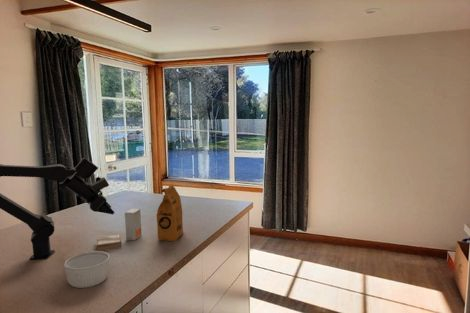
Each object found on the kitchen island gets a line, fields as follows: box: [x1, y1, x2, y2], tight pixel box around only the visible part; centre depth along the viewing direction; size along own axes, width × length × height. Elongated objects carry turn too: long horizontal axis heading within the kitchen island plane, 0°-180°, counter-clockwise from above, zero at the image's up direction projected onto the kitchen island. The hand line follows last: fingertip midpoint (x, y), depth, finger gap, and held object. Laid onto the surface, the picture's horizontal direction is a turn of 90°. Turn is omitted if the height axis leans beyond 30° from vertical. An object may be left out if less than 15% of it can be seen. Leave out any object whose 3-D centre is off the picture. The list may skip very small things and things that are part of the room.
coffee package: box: [156, 183, 184, 242], centre depth 139 cm, size 10×12×22 cm
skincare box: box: [124, 208, 143, 241], centre depth 139 cm, size 6×4×12 cm
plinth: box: [96, 233, 122, 252], centre depth 132 cm, size 9×9×2 cm
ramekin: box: [63, 250, 111, 289], centre depth 104 cm, size 13×13×7 cm
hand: (112, 210), depth 134 cm, fingers open, 9 cm apart
